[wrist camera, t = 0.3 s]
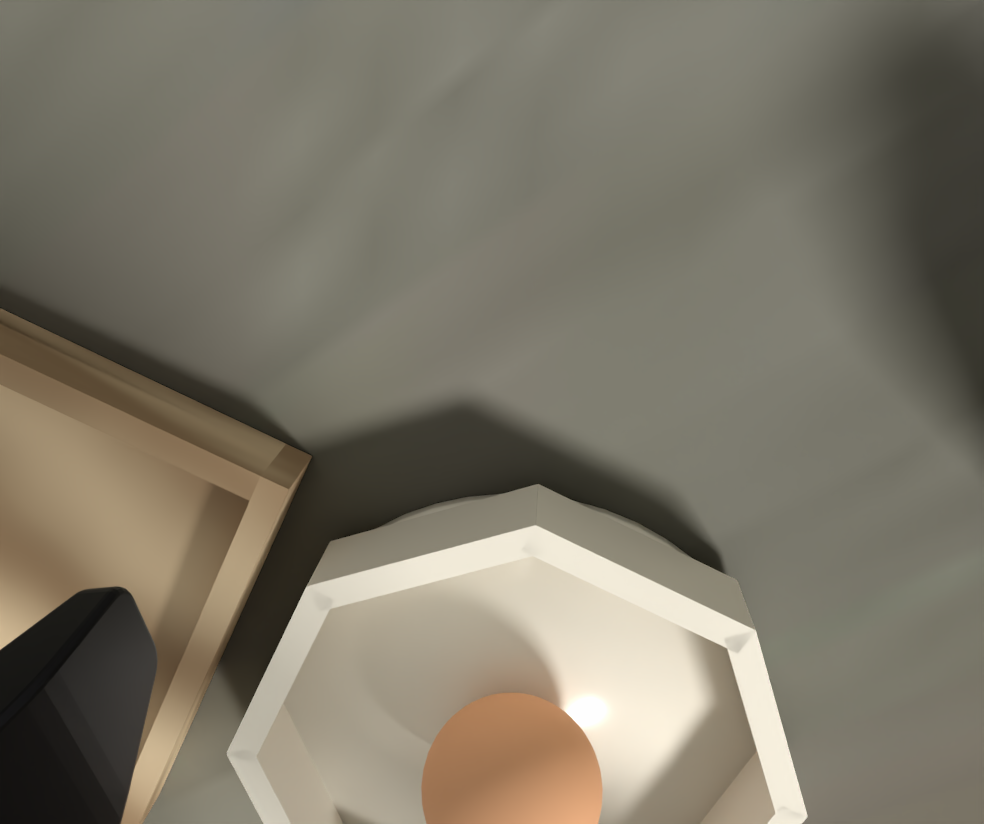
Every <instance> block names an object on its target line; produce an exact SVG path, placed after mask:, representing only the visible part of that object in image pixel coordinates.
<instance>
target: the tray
mask: <svg viewBox="0 0 984 824" xmlns="http://www.w3.org/2000/svg"><path fill="white" fill-rule="evenodd" d="M311 458H312V456H311V455H309V454H307V453H305V452H302V451H300V450H298V449H296V448H294V447H292V446H290V445H288V444H286V443H283V442H281V441H279V440H277V439H275V438H273V437H271V436H269V435H267V434H264V433H262V432H260V431H258V430H256V429H254V428H252V427H250V426H248V425H245V424H243V423H241V422H239V421H237V420H235V419H233V418H231V417H229V416H227V415H224V414H222V413H220V412H218V411H216V410H214V409H212V408H210V407H208V406H205V405H203V404H201V403H199V402H197V401H195V400H193V399H191V398H189V397H186V396H184V395H182V394H180V393H178V392H176V391H174V390H172V389H170V388H168V387H165V386H163V385H161V384H159V383H157V382H155V381H153V380H151V379H149V378H146V377H144V376H142V375H140V374H138V373H136V372H134V371H132V370H130V369H127V368H125V367H123V366H121V365H119V364H117V363H115V362H113V361H111V360H108V359H106V358H104V357H102V356H100V355H98V354H96V353H94V352H92V351H90V350H87V349H85V348H83V347H81V346H79V345H77V344H75V343H73V342H71V341H68V340H66V339H64V338H62V337H60V336H58V335H56V334H54V333H52V332H49V331H47V330H45V329H43V328H41V327H39V326H37V325H35V324H33V323H30V322H28V321H26V320H24V319H22V318H20V317H18V316H16V315H14V314H12V313H9V312H7V311H5V310H3V309H1V308H0V650H1V649H2V648H3V647H5V646H6V645H7V644H9V643H10V642H11V641H13V640H14V639H15V638H17V637H18V636H19V635H21V634H22V633H23V632H25V631H26V630H27V629H29V628H30V627H31V626H33V625H34V624H35V623H37V622H38V621H39V620H41V619H42V618H43V617H45V616H46V615H48V614H49V613H50V612H52V611H53V610H54V609H56V608H57V607H58V606H60V605H61V604H62V603H64V602H65V601H66V600H68V599H69V598H70V597H72V596H73V595H74V594H76V593H77V592H79V591H81V590H85V589H90V588H102V587H113V586H119V587H123V588H125V589H127V590H128V591H129V592H130V593H131V595H132V596H133V598H134V600H135V602H136V604H137V606H138V609H139V611H140V613H141V615H142V617H143V619H144V621H145V624H146V626H147V628H148V630H149V632H150V634H151V636H152V639H153V641H154V643H155V646H156V650H157V659H158V662H157V671H156V676H155V681H154V685H153V689H152V694H151V698H150V703H149V707H148V711H147V716H146V720H145V724H144V729H143V733H142V738H141V742H140V746H139V751H138V755H137V759H136V764H135V768H134V773H133V777H132V781H131V786H130V790H129V795H128V798H127V802H126V806H125V810H124V814H123V818H122V821H121V824H142V823H143V821H144V820H145V818H146V816H147V815H148V813H149V811H150V809H151V808H152V806H153V804H154V803H155V801H156V799H157V797H158V796H159V794H160V792H161V790H162V787H163V785H164V783H165V781H166V779H167V776H168V774H169V772H170V770H171V768H172V765H173V763H174V761H175V759H176V756H177V754H178V752H179V750H180V748H181V745H182V743H183V741H184V739H185V737H186V734H187V732H188V730H189V728H190V726H191V723H192V721H193V719H194V717H195V714H196V712H197V710H198V708H199V706H200V703H201V701H202V699H203V697H204V695H205V692H206V690H207V688H208V686H209V683H210V681H211V679H212V677H213V675H214V672H215V670H216V668H217V666H218V664H219V661H220V659H221V657H222V655H223V653H224V650H225V648H226V646H227V644H228V641H229V639H230V637H231V635H232V633H233V630H234V628H235V626H236V624H237V622H238V619H239V617H240V615H241V613H242V610H243V608H244V606H245V604H246V602H247V599H248V597H249V595H250V593H251V591H252V588H253V586H254V584H255V582H256V580H257V577H258V575H259V573H260V571H261V568H262V566H263V564H264V562H265V560H266V557H267V555H268V553H269V551H270V549H271V546H272V544H273V542H274V540H275V537H276V535H277V533H278V531H279V529H280V526H281V524H282V522H283V520H284V518H285V515H286V513H287V511H288V509H289V507H290V504H291V502H292V500H293V498H294V495H295V493H296V491H297V489H298V487H299V484H300V482H301V480H302V478H303V476H304V473H305V471H306V469H307V467H308V464H309V462H310V460H311Z"/></svg>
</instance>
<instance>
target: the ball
mask: <svg viewBox="0 0 984 824" xmlns="http://www.w3.org/2000/svg"><path fill="white" fill-rule="evenodd" d="M421 791H422V806H423V811H424V816H425V820H426V824H598V822H599V817H600V813H601V808H602V791H603V787H602V778H601V771H600V767H599V763H598V760H597V757H596V754H595V752H594V749H593V747H592V745H591V743H590V741H589V740H588V738H587V736H586V735H585V733H584V732H583V730H582V729H581V728H580V726H579V725H578V724H577V723H576V722H575V721H574V720H573V719H572V717H570V716H569V715H568V714H567V713H566V712H565V711H563V710H562V709H560V708H559V707H558V706H556V705H554V704H552V703H551V702H549V701H547V700H545V699H542V698H540V697H537V696H533V695H529V694H524V693H512V692H509V693H498V694H493V695H489V696H486V697H483V698H480V699H478V700H476V701H473V702H471V703H470V704H468V705H466V706H465V707H463V708H462V709H461V710H460V711H458V712H457V713H456V714H455V715H453V716H452V717H451V718H450V719H449V720H448V721H447V722H446V724H445V725H444V726H443V727H442V729H441V730H440V732H439V733H438V734H437V736H436V738H435V740H434V742H433V744H432V746H431V748H430V750H429V752H428V755H427V759H426V762H425V765H424V769H423V777H422V785H421Z"/></svg>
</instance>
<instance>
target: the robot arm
mask: <svg viewBox="0 0 984 824" xmlns="http://www.w3.org/2000/svg"><path fill="white" fill-rule="evenodd" d="M157 662H158V659H157V650H156V646H155V643H154V641H153V639H152V636H151V634H150V632H149V630H148V628H147V626H146V624H145V621H144V619H143V617H142V615H141V613H140V611H139V609H138V606H137V604H136V602H135V600H134V598H133V596H132V595H131V593H130V592H129V591H128V590H127V589H125V588H123V587H119V586H113V587H102V588H90V589H85V590H81V591H79V592H77V593H76V594H74V595H73V596H72V597H70V598H69V599H68V600H66V601H65V602H64V603H62V604H61V605H60V606H58V607H57V608H56V609H54V610H53V611H52V612H50V613H49V614H48V615H46V616H45V617H43V618H42V619H41V620H39V621H38V622H37V623H35V624H34V625H33V626H31V627H30V628H29V629H27V630H26V631H25V632H23V633H22V634H21V635H19V636H18V637H17V638H15V639H14V640H13V641H11V642H10V643H9V644H7V645H6V646H5V647H3V648H2V649H1V650H0V824H121V821H122V818H123V814H124V810H125V806H126V802H127V798H128V795H129V790H130V786H131V781H132V777H133V773H134V768H135V764H136V759H137V755H138V751H139V746H140V742H141V738H142V733H143V729H144V724H145V720H146V716H147V711H148V707H149V703H150V698H151V694H152V689H153V685H154V681H155V676H156V671H157Z"/></svg>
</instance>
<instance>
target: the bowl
mask: <svg viewBox="0 0 984 824" xmlns="http://www.w3.org/2000/svg"><path fill="white" fill-rule="evenodd" d="M509 692H512V693H524V694H529V695H533V696H537V697H540V698H542V699H545V700H547V701H549V702H551V703H552V704H554V705H556V706H558V707H559V708H560V709H562V710H563V711H565V712H566V713H567V714H568V715H569V716H570V717H572V719H573V720H574V721H575V722H576V723H577V724H578V725H579V726H580V728H581V729H582V730H583V732H584V733H585V735H586V736H587V738H588V740H589V741H590V743H591V745H592V747H593V749H594V752H595V754H596V757H597V760H598V763H599V767H600V771H601V778H602V787H603V791H602V808H601V813H600V817H599V822H598V824H802V823H803V822H804V820H805V819H806V818H807V817H808V816H807V813H806V809H805V806H804V802H803V798H802V795H801V791H800V788H799V784H798V780H797V777H796V773H795V770H794V766H793V763H792V759H791V755H790V752H789V748H788V745H787V741H786V737H785V734H784V730H783V727H782V723H781V720H780V716H779V712H778V709H777V705H776V702H775V698H774V694H773V691H772V687H771V684H770V680H769V677H768V673H767V669H766V666H765V662H764V659H763V655H762V651H761V648H760V644H759V641H758V637H757V633H756V630H755V627H754V625H753V622H752V619H751V616H750V614H749V611H748V608H747V605H746V603H745V600H744V597H743V595H742V592H741V589H740V586H739V584H738V581H737V580H736V579H734V578H732V577H730V576H728V575H726V574H724V573H721V572H719V571H717V570H715V569H713V568H711V567H709V566H707V565H705V564H703V563H701V562H699V561H697V560H695V559H693V558H691V557H690V556H689V555H687V554H686V553H684V552H683V551H682V550H680V549H679V548H678V547H676V546H675V545H674V544H672V543H671V542H670V541H668V540H667V539H666V538H664V537H662V536H660V535H658V534H657V533H655V532H653V531H651V530H650V529H648V528H646V527H644V526H643V525H641V524H639V523H637V522H635V521H632V520H630V519H627V518H625V517H623V516H620V515H618V514H615V513H613V512H610V511H608V510H606V509H602V508H598V507H595V506H591V505H588V504H584V503H580V502H577V501H573V500H571V499H568V498H566V497H564V496H562V495H560V494H558V493H556V492H554V491H552V490H550V489H548V488H546V487H544V486H542V485H539V484H536V485H533V486H529V487H525V488H522V489H518V490H514V491H511V492H507V493H504V494H493V495H482V496H471V497H464V498H460V499H455V500H450V501H445V502H441V503H436V504H433V505H430V506H427V507H424V508H421V509H418V510H415V511H412V512H410V513H407V514H404V515H402V516H400V517H398V518H396V519H394V520H392V521H390V522H388V523H386V524H384V525H382V526H380V527H378V528H376V529H373V530H370V531H366V532H362V533H359V534H355V535H352V536H348V537H344V538H341V539H337V540H333V541H330V543H329V544H328V546H327V548H326V550H325V552H324V554H323V556H322V558H321V560H320V562H319V564H318V565H317V567H316V569H315V571H314V573H313V575H312V577H311V579H310V581H309V583H308V584H307V586H306V588H305V590H304V593H303V595H302V597H301V599H300V601H299V603H298V605H297V607H296V609H295V611H294V613H293V615H292V618H291V620H290V622H289V624H288V626H287V628H286V630H285V632H284V634H283V636H282V638H281V641H280V643H279V645H278V647H277V649H276V651H275V653H274V655H273V657H272V659H271V661H270V663H269V666H268V668H267V670H266V672H265V674H264V676H263V678H262V680H261V682H260V684H259V686H258V688H257V691H256V693H255V695H254V697H253V699H252V701H251V703H250V705H249V707H248V709H247V711H246V713H245V716H244V718H243V720H242V722H241V724H240V726H239V728H238V730H237V732H236V734H235V736H234V738H233V741H232V743H231V745H230V747H229V749H228V751H227V753H226V754H227V756H228V758H229V760H230V762H231V764H232V765H233V767H234V769H235V771H236V773H237V775H238V777H239V778H240V780H241V782H242V784H243V786H244V788H245V790H246V792H247V793H248V795H249V797H250V799H251V801H252V803H253V805H254V806H255V808H256V810H257V812H258V814H259V816H260V818H261V820H262V821H263V823H264V824H426V820H425V816H424V811H423V806H422V791H421V785H422V777H423V769H424V765H425V762H426V759H427V755H428V752H429V750H430V748H431V746H432V744H433V742H434V740H435V738H436V736H437V734H438V733H439V732H440V730H441V729H442V727H443V726H444V725H445V724H446V722H447V721H448V720H449V719H450V718H451V717H452V716H453V715H455V714H456V713H457V712H458V711H460V710H461V709H462V708H463V707H465V706H466V705H468V704H470V703H471V702H473V701H476V700H478V699H480V698H483V697H486V696H489V695H493V694H498V693H509Z"/></svg>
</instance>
